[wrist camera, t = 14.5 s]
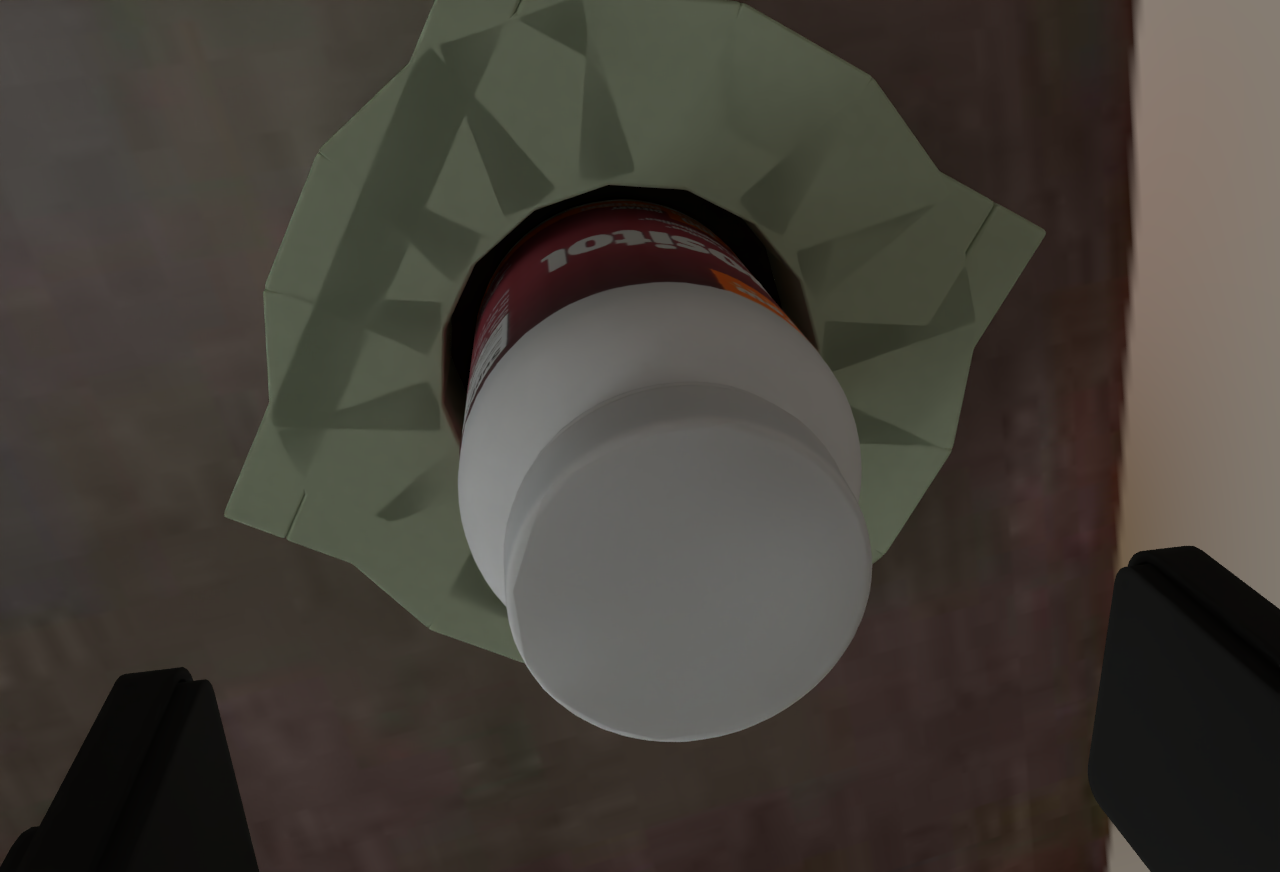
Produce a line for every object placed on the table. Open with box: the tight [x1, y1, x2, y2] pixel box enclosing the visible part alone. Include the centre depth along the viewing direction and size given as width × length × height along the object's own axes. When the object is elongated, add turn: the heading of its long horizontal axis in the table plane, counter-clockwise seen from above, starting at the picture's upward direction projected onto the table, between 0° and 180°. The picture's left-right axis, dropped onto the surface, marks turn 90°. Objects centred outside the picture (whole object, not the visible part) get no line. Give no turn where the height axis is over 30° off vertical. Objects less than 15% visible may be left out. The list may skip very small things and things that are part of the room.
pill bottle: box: [458, 199, 872, 742], centre depth 18 cm, size 6×6×11 cm
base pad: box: [224, 0, 1046, 663], centre depth 22 cm, size 14×14×3 cm
